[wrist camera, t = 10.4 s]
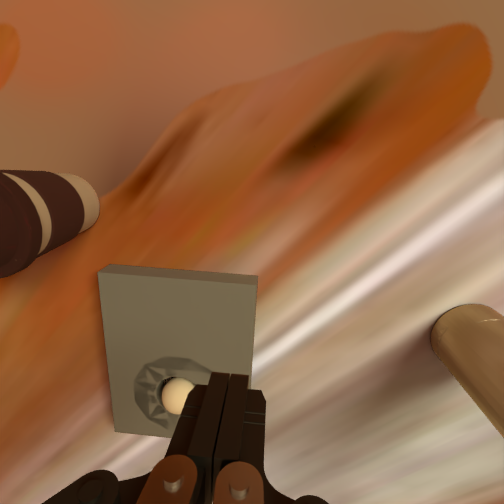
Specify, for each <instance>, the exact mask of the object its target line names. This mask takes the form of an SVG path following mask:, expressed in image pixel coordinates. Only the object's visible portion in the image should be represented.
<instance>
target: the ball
mask: <svg viewBox="0 0 504 504" xmlns="http://www.w3.org/2000/svg"><path fill="white" fill-rule="evenodd" d="M195 386H196V384H194V383H193V382H191V381H189V380H188V379H186V378H182V377H174V378H172V379H171V380H169V381H168V382H167V383H166V385H165V387H164V389H163V392H162V402H163V405H164V407H165V408H166V410H168V411H169V412H170V413H173V414H181V412H182V409H183V407H184V404H185V401H186V398H187V395H188V393H189V392H190V391H191V390H192V389H193V388H194V387H195Z"/></svg>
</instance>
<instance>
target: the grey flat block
mask: <svg viewBox="0 0 504 504" xmlns="http://www.w3.org/2000/svg"><path fill="white" fill-rule="evenodd" d="M97 273H98V282H99V291H100V300H101V310H102V319H103V328H104V337H105V346H106V355H107V364H108V373H109V383H110V392H111V401H112V410H113V419H114V428H115V432H121V433H130V434H139V435H148V436H157V437H166V438H172V436H173V433H174V431H175V428H176V425H177V423H178V420H179V417H180V414H173V413H170V412H169V411H168V410H166V408H165V407H164V405H163V402H162V392H163V389H164V387H165V385H164V379H167V378H169V377H182V378H186V379H188V380H189V381H191V382H193V383H194V384H196V385H197V384H201V385H208V383H209V379H210V376H211V373H212V372H222V373H230V376H231V373H233V374H243V375H249V387H248V389H251V375H252V359H253V344H254V329H255V314H256V298H257V283H258V276H253V275H241V274H228V273H215V272H203V271H190V270H178V269H165V268H152V267H140V266H127V265H114V264H109V265H108V266H106V267H105V268H103V269H102V270H100V271H99V272H97Z"/></svg>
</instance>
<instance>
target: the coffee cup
mask: <svg viewBox="0 0 504 504" xmlns="http://www.w3.org/2000/svg"><path fill="white" fill-rule="evenodd" d="M99 211H100V205H99V200H98V197H97V194H96V192H95V191H94V189H93V188H92V187H91V185H90V184H89V183H88V182H86V181H85V180H84V179H82V178H80V177H78V176H76V175H72V174H61V173H60V174H59V173H51V172H46V171H22V170H0V278H4V277H8V276H10V275H12V274H15V273H17V272H19V271H21V270H23V269H25V268H27V267H28V266H29V265H30V264H31V263H32V262H33V261H34V260H35V259H36V258H37V257H39V256H41V255H43V254H45V253H47V252H49V251H51V250H53V249H54V248H56V247H58V246H60V245H62V244H64V243H66V242H68V241H69V240H71V239H73V238H74V237H75V236H76V235H77V234H79V233H81V232H83V231H85V230H86V229H88V228H90V227H91V226H92V225H93V224H94V223H95V222H96V220H97V218H98V215H99Z"/></svg>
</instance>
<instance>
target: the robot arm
mask: <svg viewBox="0 0 504 504" xmlns="http://www.w3.org/2000/svg"><path fill="white" fill-rule="evenodd" d="M431 346H432V348H433V351H434V352H435V353H436V355H437V356H438V357H439V358H440V360H441V361H442V362H443V363H444V365H445V366H446V367H447V368H448V370H449V371H450V372H451V374H452V375H453V376H454V377H455V378H456V380H457V381H458V382H459V383H460V385H461V386H462V387H463V388H464V390H465V391H466V392H467V393H468V395H469V396H470V397H471V398H472V399H473V401H474V402H475V403H476V404H477V406H478V407H479V408H480V409H481V411H482V412H483V413H484V414H485V416H486V417H487V418H488V419H489V420H490V422H491V423H492V424H493V425H494V427H495V428H496V429H497V430H498V432H499V433H500V434H501V435H502V437H503V438H504V316H502V315H501V314H500V313H498V312H497V311H495V310H494V309H492V308H490V307H488V306H484V305H480V304H468V305H462V306H459V307H456V308H454V309H452V310H450V311H448V312H447V313H445V314H444V315H443V316H442V317H441V318H440V319H439V320H438V321H437V322H436V324H435V325H434V327H433V330H432V332H431ZM248 387H249V375H243V374H233V373H231V376H230V373H222V372H212V373H211V376H210V379H209V383H208V385H201V384H197V385H196V386H195V387H194V388H193V389H192V390H191V391H190V392H189V393H188V395H187V398H186V401H185V404H184V407H183V409H182V412H181V414H180V417H179V420H178V423H177V425H176V428H175V431H174V433H173V436H172V439H171V442H170V444H169V447H168V450H167V452H166V455H165V457H164V459H162V460H161V461H159V462H158V463H157V464H156V465H155V467H154V468H153V469H152V471H151V472H149V473H147V474H145V475H143V476H140V477H137V478H132V479H128V480H123V481H119V482H118V479H117V477H116V476H115V474H114V473H112V472H110V471H108V470H96V471H93V472H90V473H88V474H85V475H84V476H82V477H81V478H79V479H78V480H76V481H75V482H73V483H72V484H70V485H69V486H67V487H66V488H64V489H63V490H61V491H60V492H58V493H57V494H55V495H54V496H52V497H51V498H49V499H48V500H46V501H45V502H43V503H42V504H212V502H213V504H329V503H327V502H326V501H325V500H323V499H322V498H319V497H317V496H313V495H306V496H302V497H300V498H298V499H297V500H293V499H291V498H289V497H287V496H285V495H283V494H281V493H280V492H278V491H277V490H275V489H274V488H273V487H272V486H271V484H270V483H269V482H268V480H267V478H266V475H265V473H264V439H265V413H266V400H265V398H264V396H263V394H262V391H261V390H252V389H248Z"/></svg>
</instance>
